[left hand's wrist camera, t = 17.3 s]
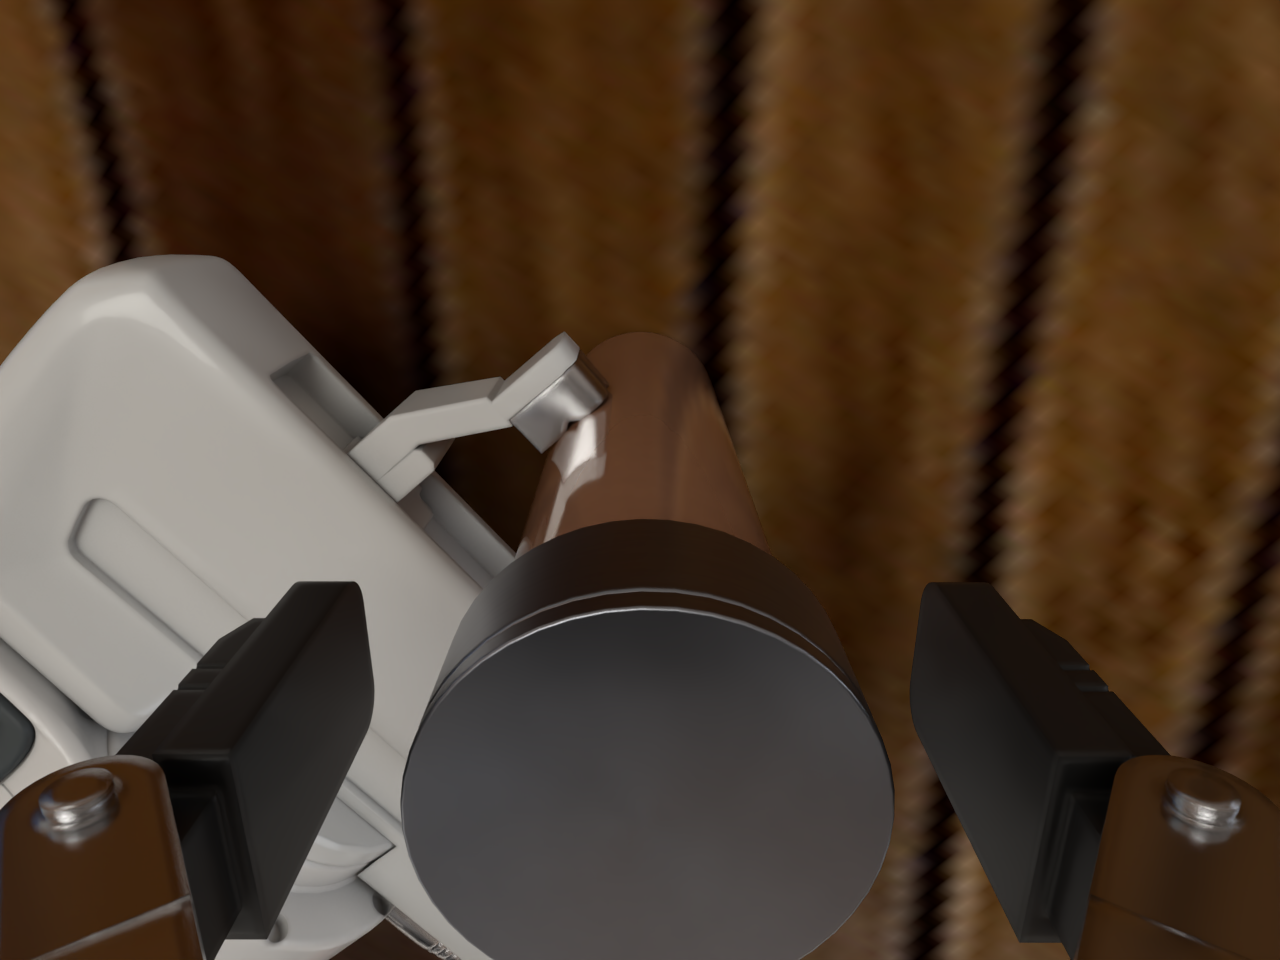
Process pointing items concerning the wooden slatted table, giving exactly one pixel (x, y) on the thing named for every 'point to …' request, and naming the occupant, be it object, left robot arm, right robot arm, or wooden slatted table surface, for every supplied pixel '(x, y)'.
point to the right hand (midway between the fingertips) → (672, 460)
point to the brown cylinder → (645, 451)
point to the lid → (646, 757)
